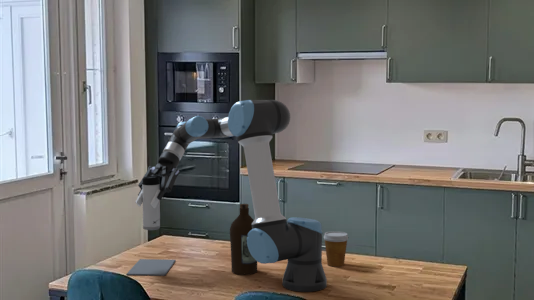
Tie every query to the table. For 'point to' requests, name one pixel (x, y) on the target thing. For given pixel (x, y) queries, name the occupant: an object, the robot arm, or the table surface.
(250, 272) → the olive oil
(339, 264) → the disposable coffee cup
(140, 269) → the rubber mat
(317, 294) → the table surface
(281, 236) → the robot arm
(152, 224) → the travel mug
